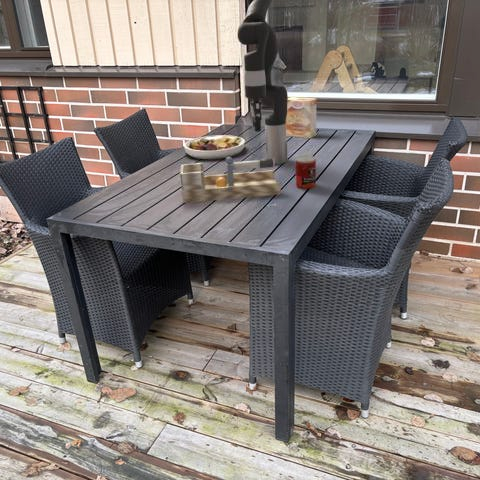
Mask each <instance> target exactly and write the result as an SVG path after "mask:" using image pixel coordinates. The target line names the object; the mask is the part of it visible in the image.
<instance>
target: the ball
mask: <svg viewBox="0 0 480 480" xmlns="http://www.w3.org/2000/svg"><path fill="white" fill-rule="evenodd" d="M216 186H217V187H226V186H227V180H226V179H225V178H223V177H220V178H218V179H217V180H216Z"/></svg>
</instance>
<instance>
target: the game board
mask: <svg viewBox="0 0 480 480" xmlns="http://www.w3.org/2000/svg"><path fill="white" fill-rule="evenodd" d="M204 171H205V170H204V163H203V162H197V163H187V164H186V163H185V164H180V171H179V175H180V182H181V183H180V184H181V194H182V196H181V197H182V203H183V204H184V203H185V204H186V203H198V202H199V203H200V202H209V201H219V200H231V199H242V198H243V199H245V198H253V197H254V198H256V197H264V196H276V195H278V196H279V195H281V190H282V189H281V181H276V179H275V169H273V170H272V169H271V170H270V169H269V170H259V171H257V170H256V171H248V172H233V180H234V186H228V177H227V173H224V174H223V173H222V174H210V175H205V172H204ZM220 177H223V178H225V179H226V180H227V186H226V187H217V186H216V180H217V179H218V178H220Z"/></svg>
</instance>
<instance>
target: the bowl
mask: <svg viewBox="0 0 480 480" xmlns="http://www.w3.org/2000/svg"><path fill="white" fill-rule="evenodd" d="M245 142H246V140H245V139H244V138H242V137H239V136H235V135H229V134H228V135H227V134H224V135H223V134H221V135H220V134H218V135H206V136H202V137H197V138H193V139H190V140H188V141H186V142H185V143H184V144H183V147H184V151H185V153H186V154H187V155H189V156H190V157H192V158H195V159H201V160H217V159H226V158H227V157H232V156H233V157H234V156H236V155H239V154H240V153H241V152H242V151H243V150H244V148H245V144H246V143H245Z"/></svg>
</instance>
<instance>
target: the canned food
mask: <svg viewBox="0 0 480 480" xmlns="http://www.w3.org/2000/svg"><path fill="white" fill-rule="evenodd" d="M294 164H295V185H296V187H297V188H298V189H303V190H308V189H313V188H315V186H316V181H317V179H316V178H317V176H316V175H317V174H316V173H317V168H316V167H317V159H316V157H315V156H312V155H299V156H297V157H295V163H294Z"/></svg>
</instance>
